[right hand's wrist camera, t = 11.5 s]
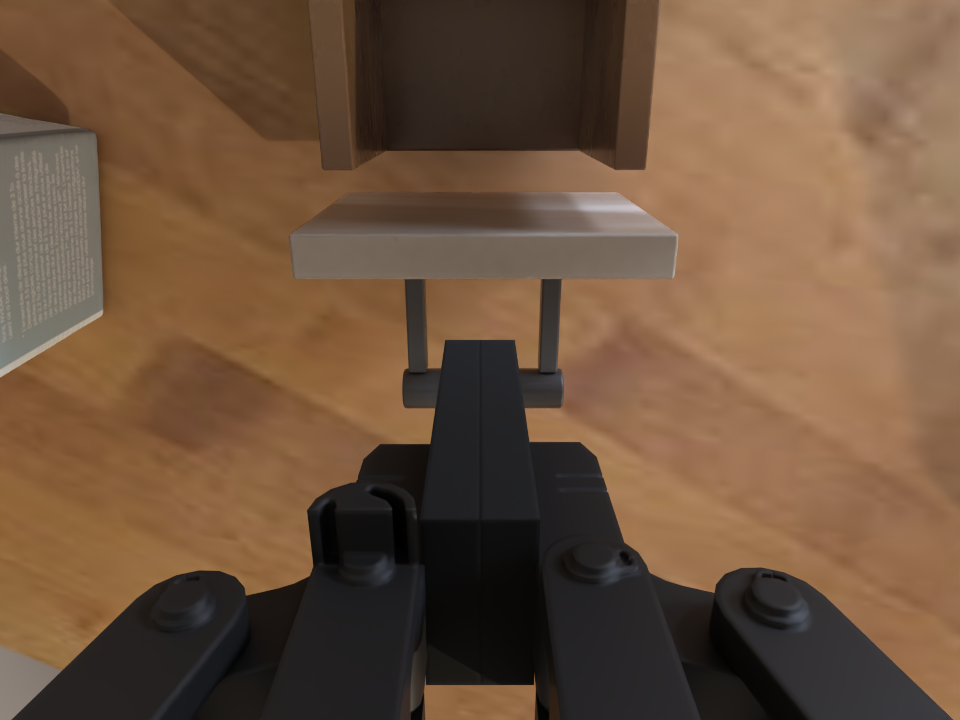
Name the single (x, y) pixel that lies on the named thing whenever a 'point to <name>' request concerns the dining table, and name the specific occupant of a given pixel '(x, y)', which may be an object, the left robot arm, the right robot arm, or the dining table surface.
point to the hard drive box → (47, 236)
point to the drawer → (483, 127)
